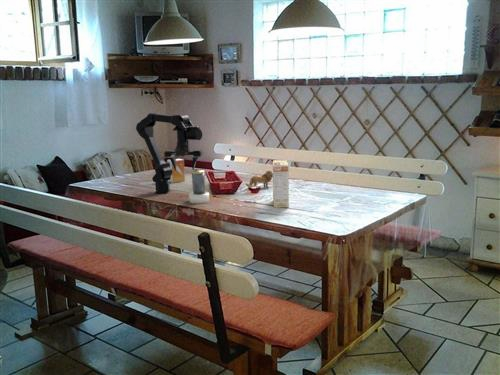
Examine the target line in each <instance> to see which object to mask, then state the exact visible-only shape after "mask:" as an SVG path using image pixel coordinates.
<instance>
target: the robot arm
mask: <svg viewBox="0 0 500 375" xmlns="http://www.w3.org/2000/svg"><path fill="white" fill-rule="evenodd" d="M157 122H159V123H166V124H171V125H173V126H175V127H174V128H173V129H172V131H173V132H175V131H176V146H175V148H174V149H167V150H165V151H164V154H163V156H164V157H165V158H167V160H171V162H172V164H173V167H174V169H175V170H176V159H177V158H176V157H178V156H179V157H185V156H192V170H195V167H196V164H197V162H198V159H199V158H200V157H203V155H204V152H203V149H194V150H193V151H190V146H189V144H190V141H201V140H202V139H203V132H202V129H201V128H200V126H199V125H198V126H194V124H193V122H192V121H191V120H190V117H189V115H187V114H186V113H185V114H184V113H183V114H174V115H171V114H164V113H157V112H150V113H148V114H147V115H146V116H145V117H144V118H143V119H141V120H140V121H139V122H138V123H137V124H136V127H135V129H136V132H137V133H138V135H139V136H140V137H141V138H142V139H143V140H144V142H145V144H146V146H147V149H148V151H149V153H150V156H151V158H152V160H153V163H154V171H155V172H154V173H155V174H154V175H153V177H152V182H153V183H154V184H155V192H154V193H155V194H168V193H169V192H170V191H171V187H170V186H171V185H170V184H171V183H170V182H169V181H168V180H170V178H171V175H172V168H171V166H170V163H169V162H168V163H167V161H165V159H164V157H163V156H162V153H161V150H160V148H159V146H158V144H157V141H156V140H155V137H154V134H155V133H154V132H155V131H154V127H155V126H156V123H157Z"/></svg>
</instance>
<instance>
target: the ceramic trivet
mask: <svg viewBox="0 0 500 375" xmlns="http://www.w3.org/2000/svg"><path fill="white" fill-rule="evenodd" d="M205 192H206V193H205V194H201V195H195V194H193V191H192V192H191V191H190V192H189V193H188V202H189V204H190V203H191V204H206V203H208V202H210V200H211V199H210V192H209V191H206V190H205Z"/></svg>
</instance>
